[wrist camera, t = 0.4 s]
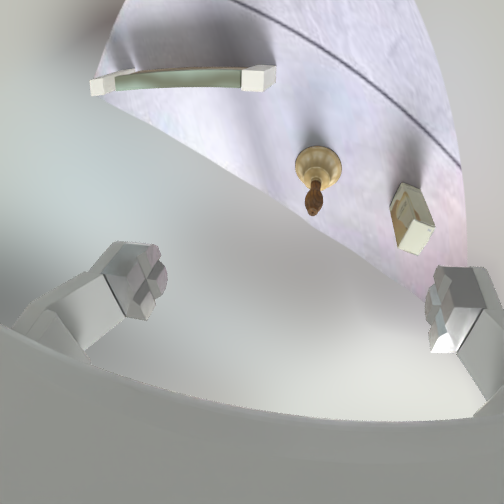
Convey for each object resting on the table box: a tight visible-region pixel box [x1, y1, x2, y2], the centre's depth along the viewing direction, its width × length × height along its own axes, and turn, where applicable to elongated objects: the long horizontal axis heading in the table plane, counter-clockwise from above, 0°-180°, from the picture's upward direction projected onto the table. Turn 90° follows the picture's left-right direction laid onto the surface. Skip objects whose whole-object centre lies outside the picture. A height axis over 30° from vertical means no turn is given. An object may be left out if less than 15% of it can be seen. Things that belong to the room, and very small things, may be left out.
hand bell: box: [295, 146, 342, 216], centre depth 47 cm, size 8×8×16 cm
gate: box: [115, 67, 249, 91], centre depth 43 cm, size 3×21×8 cm, turn 88°
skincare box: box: [389, 183, 436, 256], centre depth 48 cm, size 6×4×12 cm
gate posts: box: [90, 65, 277, 96], centre depth 43 cm, size 3×30×10 cm, turn 88°
